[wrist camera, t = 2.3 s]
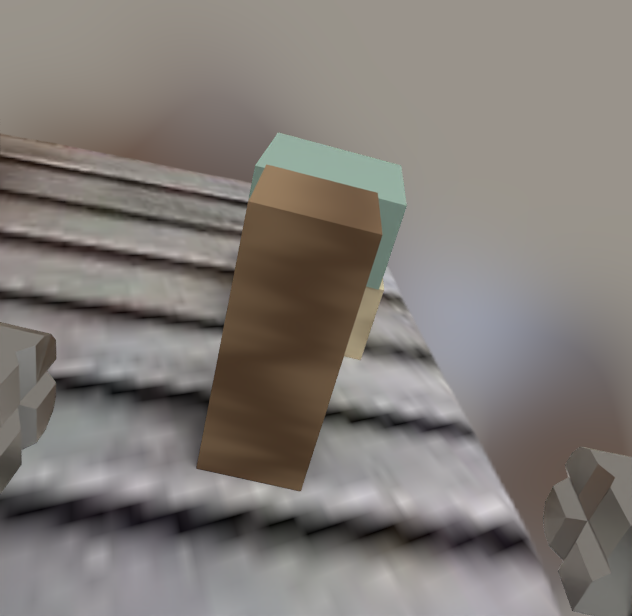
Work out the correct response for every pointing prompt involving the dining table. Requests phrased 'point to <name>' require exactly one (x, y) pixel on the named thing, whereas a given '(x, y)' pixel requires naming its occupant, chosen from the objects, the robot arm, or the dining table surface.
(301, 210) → the walnut post
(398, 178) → the upper block
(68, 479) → the dining table surface
